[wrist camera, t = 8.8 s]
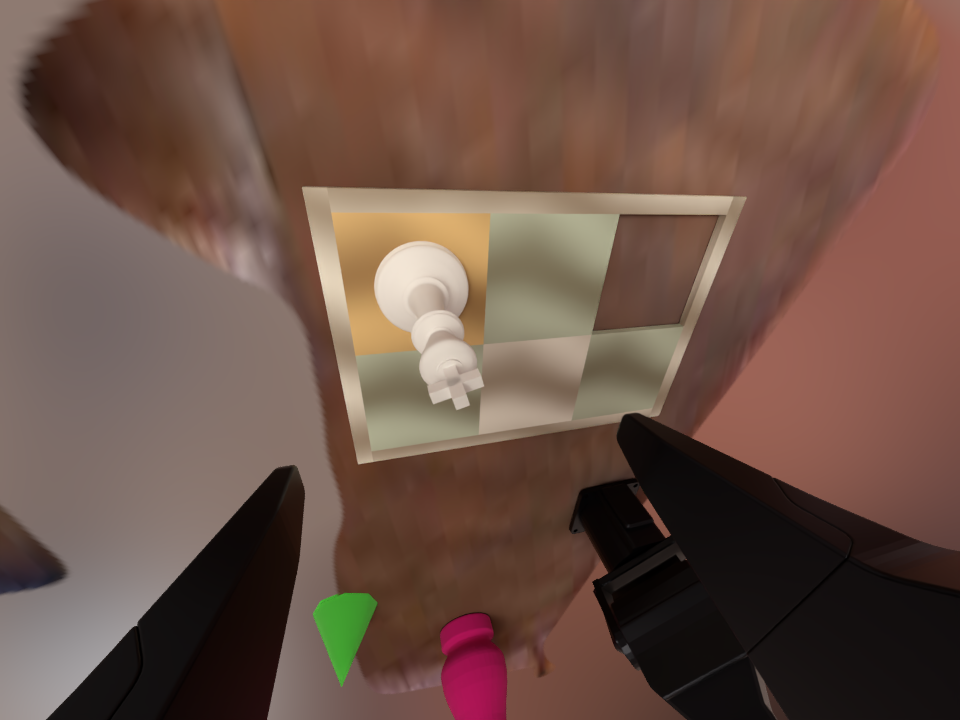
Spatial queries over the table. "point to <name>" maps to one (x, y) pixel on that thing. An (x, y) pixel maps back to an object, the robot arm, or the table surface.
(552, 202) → the game board
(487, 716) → the pepper mill
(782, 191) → the table surface
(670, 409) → the table surface
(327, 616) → the gemstone
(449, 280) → the chess piece
